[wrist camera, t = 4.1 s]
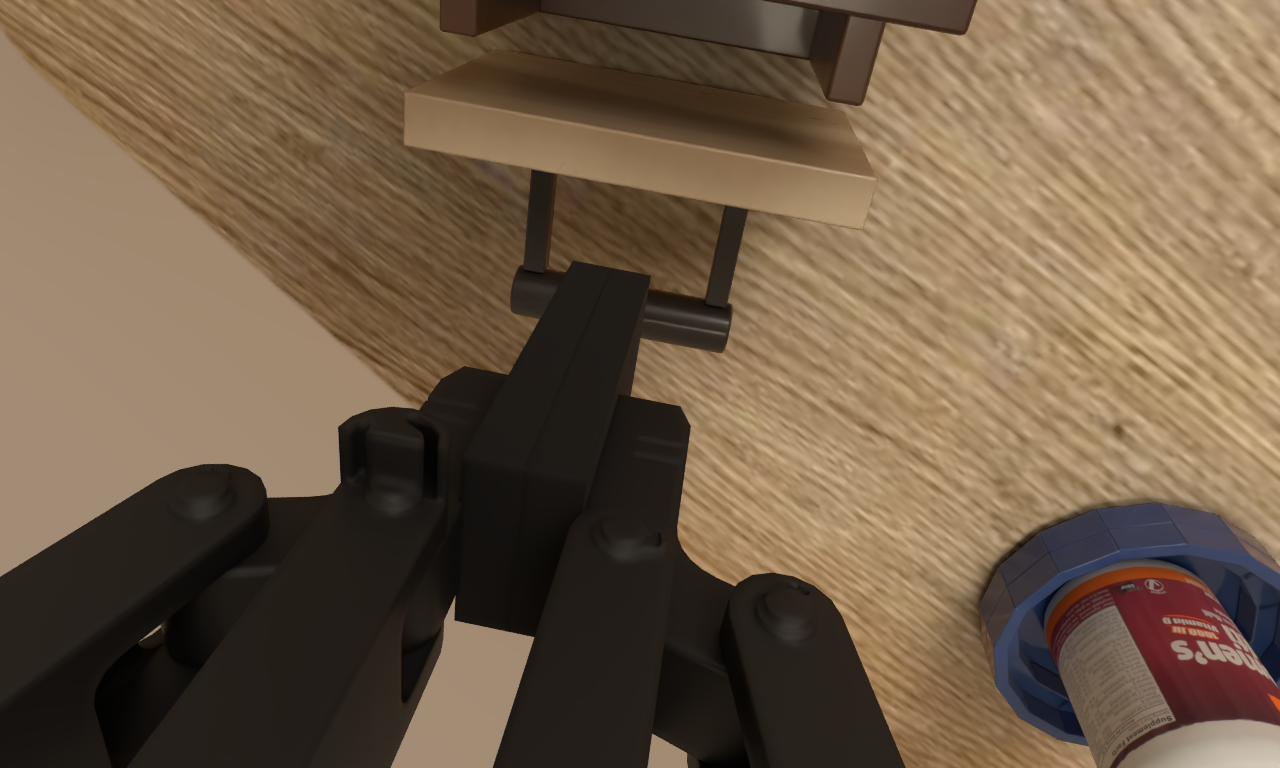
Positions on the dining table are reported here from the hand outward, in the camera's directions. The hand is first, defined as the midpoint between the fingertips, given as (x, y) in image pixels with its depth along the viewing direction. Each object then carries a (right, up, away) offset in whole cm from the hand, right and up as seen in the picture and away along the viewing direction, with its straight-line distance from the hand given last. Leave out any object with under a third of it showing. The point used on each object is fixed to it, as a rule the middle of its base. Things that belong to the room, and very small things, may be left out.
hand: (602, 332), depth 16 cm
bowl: (+20, -10, +16) cm, 28 cm away
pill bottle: (+20, -10, +16) cm, 27 cm away
